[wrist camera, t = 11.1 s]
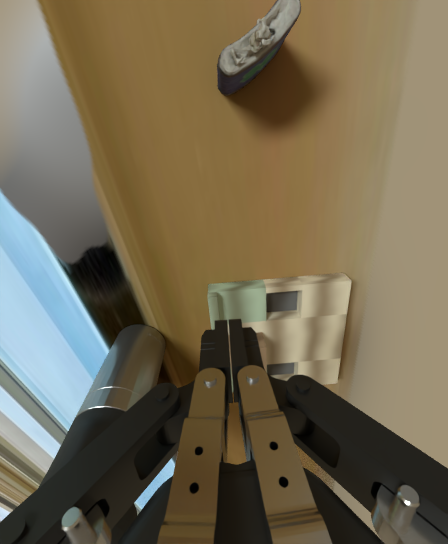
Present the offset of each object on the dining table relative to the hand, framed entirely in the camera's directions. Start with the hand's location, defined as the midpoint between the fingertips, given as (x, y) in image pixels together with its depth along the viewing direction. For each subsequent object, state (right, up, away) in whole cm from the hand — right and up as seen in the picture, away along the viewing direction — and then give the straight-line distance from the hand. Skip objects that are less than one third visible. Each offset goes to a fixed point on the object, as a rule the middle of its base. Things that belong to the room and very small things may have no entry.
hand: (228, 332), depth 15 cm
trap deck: (+10, -8, +35) cm, 38 cm away
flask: (+3, +29, +18) cm, 35 cm away
